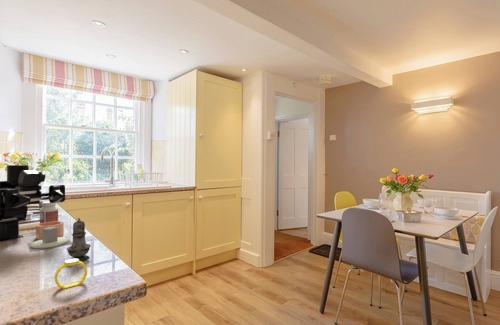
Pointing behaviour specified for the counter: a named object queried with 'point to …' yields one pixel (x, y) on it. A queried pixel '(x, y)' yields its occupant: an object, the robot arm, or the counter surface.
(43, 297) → the counter surface
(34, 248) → the mat
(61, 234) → the bowl
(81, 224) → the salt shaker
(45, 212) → the pill bottle
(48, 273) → the counter surface
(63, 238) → the lid
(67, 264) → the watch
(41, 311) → the counter surface
